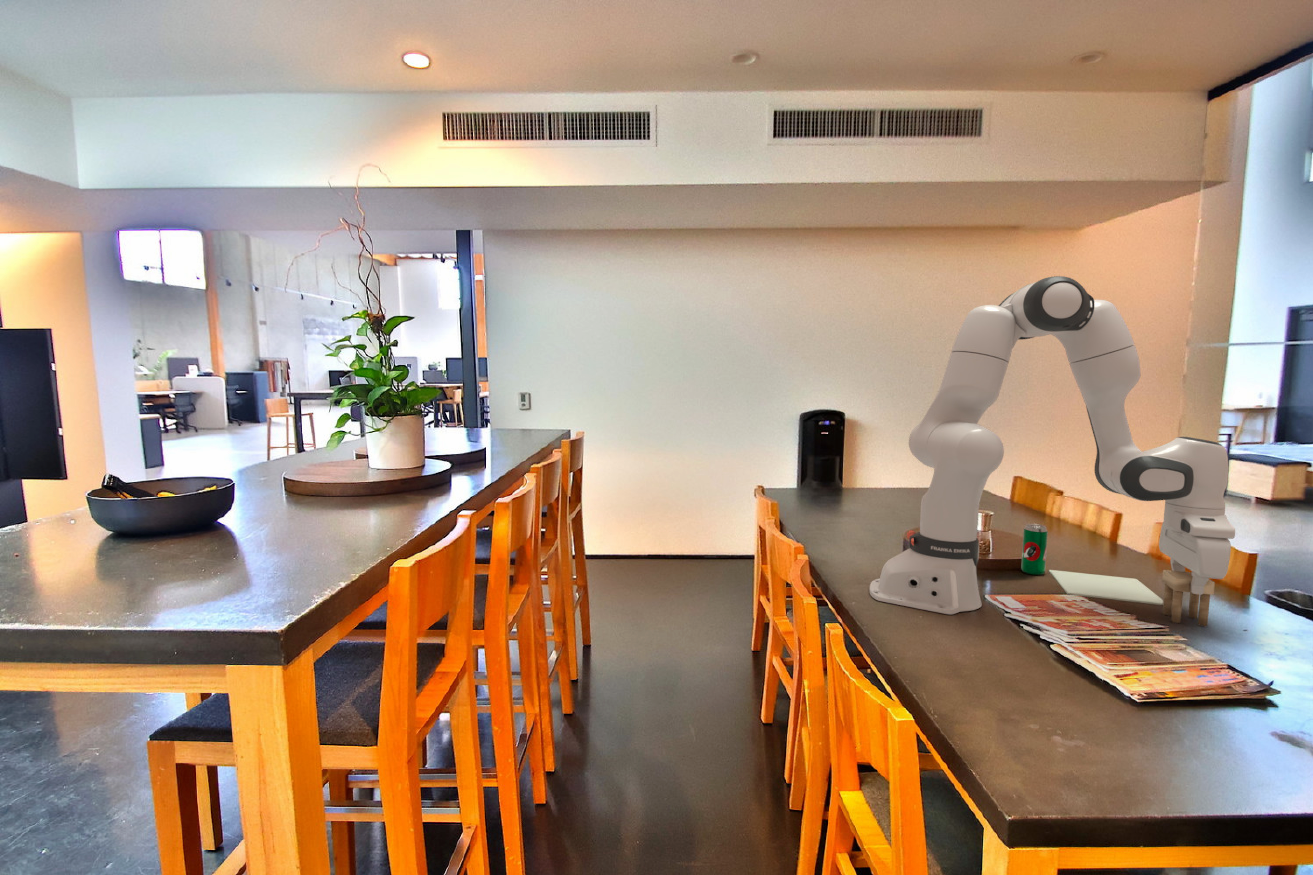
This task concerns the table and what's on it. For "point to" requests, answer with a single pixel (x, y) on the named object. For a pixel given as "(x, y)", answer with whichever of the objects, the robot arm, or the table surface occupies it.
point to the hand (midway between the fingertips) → (1187, 587)
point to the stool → (1179, 585)
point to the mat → (1105, 587)
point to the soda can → (1034, 549)
